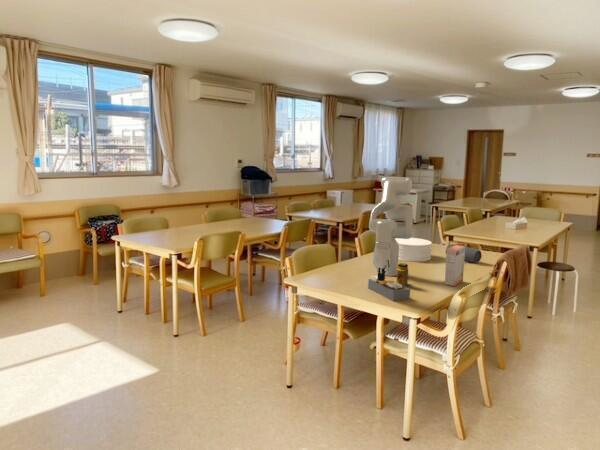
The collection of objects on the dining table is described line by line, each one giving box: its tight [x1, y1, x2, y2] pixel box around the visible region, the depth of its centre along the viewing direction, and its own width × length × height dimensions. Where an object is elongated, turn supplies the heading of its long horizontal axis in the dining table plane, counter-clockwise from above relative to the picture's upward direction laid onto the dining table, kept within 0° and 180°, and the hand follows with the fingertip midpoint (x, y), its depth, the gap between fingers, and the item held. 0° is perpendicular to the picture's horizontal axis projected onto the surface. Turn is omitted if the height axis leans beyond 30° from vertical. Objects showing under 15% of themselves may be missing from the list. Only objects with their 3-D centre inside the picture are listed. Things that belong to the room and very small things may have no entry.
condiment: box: [396, 262, 412, 288], centre depth 253 cm, size 7×8×12 cm
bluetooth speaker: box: [445, 244, 483, 263], centre depth 315 cm, size 23×9×10 cm, turn 37°
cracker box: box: [444, 244, 466, 287], centre depth 258 cm, size 14×6×21 cm, turn 141°
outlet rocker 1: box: [370, 274, 387, 282], centre depth 242 cm, size 6×4×2 cm
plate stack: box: [395, 237, 433, 262], centre depth 323 cm, size 28×28×12 cm
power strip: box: [367, 278, 411, 302], centre depth 237 cm, size 10×23×5 cm, turn 24°
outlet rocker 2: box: [379, 278, 395, 284], centre depth 236 cm, size 6×4×2 cm
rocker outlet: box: [386, 282, 402, 289], centre depth 229 cm, size 6×4×2 cm
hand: (381, 280), depth 234 cm, fingers closed
